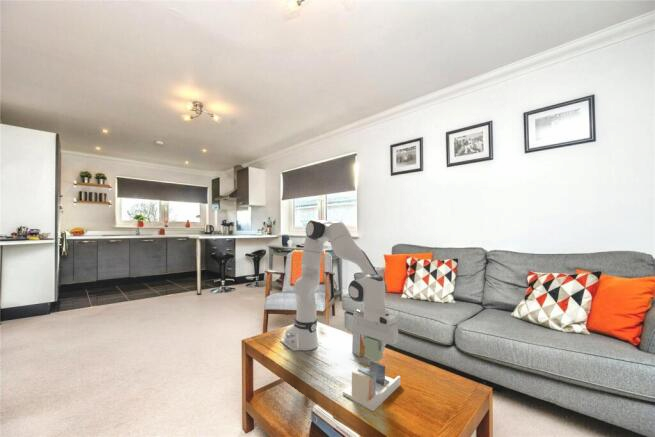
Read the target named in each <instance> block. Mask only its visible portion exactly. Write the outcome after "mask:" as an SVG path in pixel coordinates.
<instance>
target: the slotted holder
mask: <svg viewBox="0 0 655 437" xmlns="http://www.w3.org/2000/svg"><path fill="white" fill-rule="evenodd" d="M400 386H401V376H400V375H397V376H395V378H392V377H390V376H388V375H387V376H386V365H383V364H381V363H378V362H377V361H374V360H372V359H370V360H369V369H367V368H365V367H362V366H360V367H359V368H358V369H357V370H356V369H354V370H353V371H352V372H351V385H349V386H347V387H346V388H345V389H344V390H342V395H343V396H344V397H347V398H348V399H350V400H352V401H354V402H355V403H357V404H359V405H361V406H363V407H364V408H366V409H369V410H370V411H372V412H374V411H375V410H376V409H378V407H380V405H382V403H384V402H385V401H386V400H387V398H389V397H390V396H391V395H392V394H393V393H394V392H395V391H396V390H397V389H398V388H399V387H400Z"/></svg>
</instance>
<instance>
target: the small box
mask: <svg viewBox="0 0 655 437" xmlns="http://www.w3.org/2000/svg"><path fill="white" fill-rule="evenodd" d="M351 344H352V347H351V348H352V349H351V353H352V354H355V356H357V357H359V358H360V357H363V356H364V357H365V346H364V345H363V340H362V337H361V334H359V333H356V332H353V331H352V343H351Z"/></svg>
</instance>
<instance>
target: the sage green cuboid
mask: <svg viewBox="0 0 655 437" xmlns="http://www.w3.org/2000/svg"><path fill="white" fill-rule="evenodd" d="M382 345H383V344H382V341H380V340H377V339H374V338H371V337H368V336H366V337H365V355H364V357H365V358H366V359H370V360H371V361H374V362H376V363H378V362H379V361H380V360H382V359H383V354H384V352H381V351H379V347H380V346H382Z"/></svg>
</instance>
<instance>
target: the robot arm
mask: <svg viewBox="0 0 655 437" xmlns="http://www.w3.org/2000/svg"><path fill="white" fill-rule="evenodd" d="M305 235H306V237H305V240H304V244H303V248H302V254H301V261H300V265H301V275H300V277H298V278H297V279H296V281H295V282H294V284H293V287H292V288H293V293H294V295H295V301H296V302H295V303H296V317H295V318H294V319H293V322H294V323H293V325H291V326H290V327H289V328H287V329H286V330H285V334H284V336H283V337H281V338H280V342H281V343H282V344H284V345H285V346H287V347H288V348H289V349H290V350H291V351H295V352H296V351H311V350H315V349H317V347H318V346H319V342H318V341H319V339H318V334H317V333H318V332H317V330H318V329H317V326H318V319H317V303H316V294H315V293H316V291H317V290H318V289H319V286H320V283H321V263H322V256H323V252H324V250H323V249H324V244H325V243H326V242H328V243H330V246H331V248H332V251H333V252H334V254H335V256H336V257H338V258H339V259H341V260H343V261H344V260H345V261H347V262H351V263H354V264H356V265H357V266H358V268H360V270H361V272H362V274H363V275H364V276H363V277H361V278H357V279H354V280H352V281H351V282H349V285H348V296H349V297H350V299H351V300H352V301H353V302H357V303H363V310H359V309H356V310H354V311H353V314H352V324H351V330H352V333H353V332H356V333H359V334H361V337H362V340H363V345H364V346H365V337H366V336H368V337H371V338H374V339H377V340H380V341H382V344H383V345H382V346H380V347H379V351H381V352H383V353H384V352H385V347H386V345H387V344H390V345H395V344H396V343H397V342H398V341H399V328H398V325H397V323H396V322H397V320H398V319H397V316H396V315H394V314H392V312H391V313H390V312H389V311H388V310H387V309H386V304H385V300H386V294H387V290H388V289H387V288H388V287H387V283H386V282H385V279H384V277H383V276H382V275H381V274H379V273H378V272H377V269H376V268H375V267H374V265H373V264H372V262H371V260H370V259H369V256H368V255H367V254H366V253H365V251H364V250H363V249H362V248H360V247H359V246H358V245H357V243H356V242H355V240H354V239H353V237H352V234H351V233H350V231H349V229H348V228H347V226H346V225H345V223H344V222H342V221H339V220H337V221H330V220H320V219H319V220H318V219H310V220H309V221H308V222H307V224H306V226H305Z"/></svg>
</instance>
